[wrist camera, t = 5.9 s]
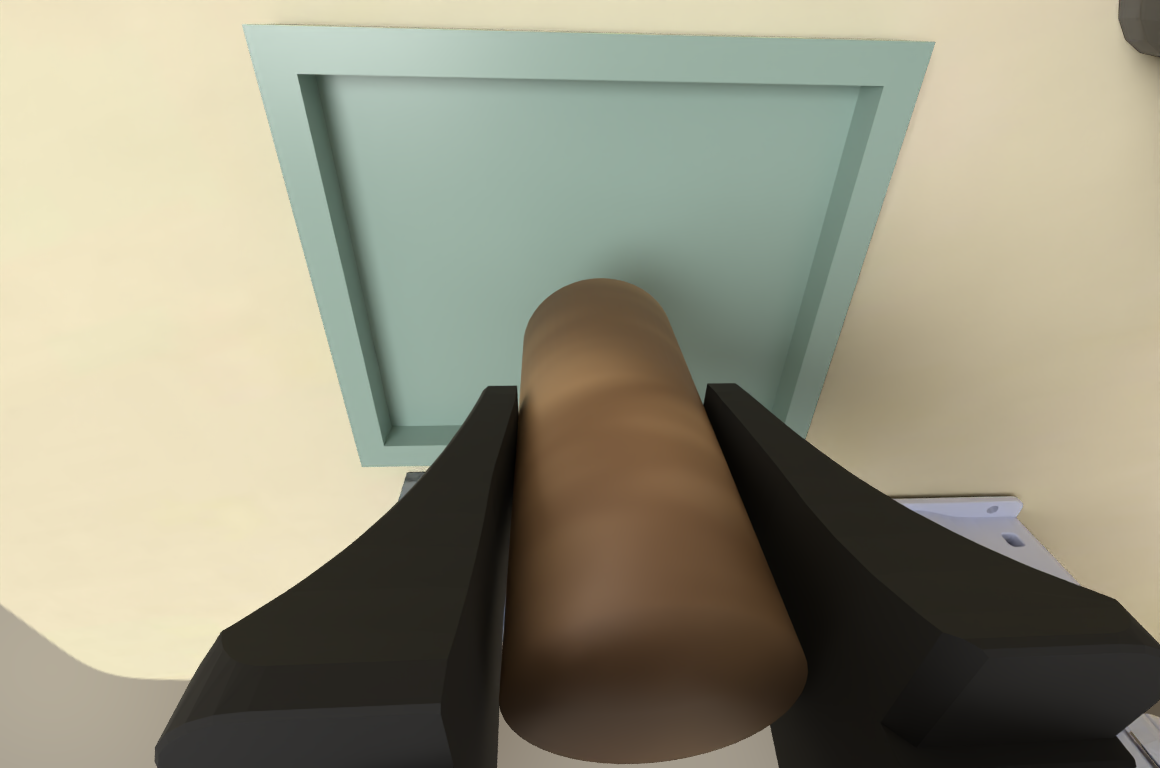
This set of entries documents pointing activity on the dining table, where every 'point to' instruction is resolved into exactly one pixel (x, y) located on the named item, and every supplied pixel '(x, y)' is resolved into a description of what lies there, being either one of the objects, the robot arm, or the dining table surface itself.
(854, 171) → the tray
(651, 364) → the dowel
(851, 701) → the robot arm
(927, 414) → the dining table surface
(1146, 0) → the beverage cup
